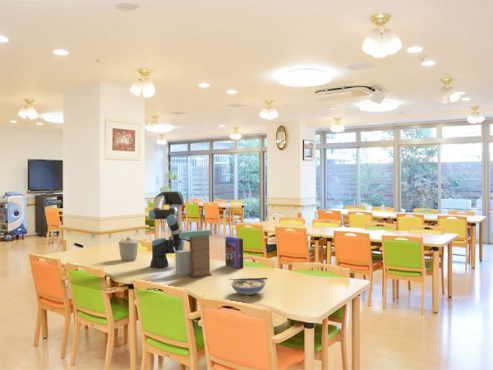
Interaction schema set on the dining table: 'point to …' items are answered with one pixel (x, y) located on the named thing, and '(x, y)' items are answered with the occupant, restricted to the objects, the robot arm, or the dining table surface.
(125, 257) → the canister
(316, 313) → the dining table surface
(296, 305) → the dining table surface
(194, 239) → the pedestal
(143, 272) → the dining table surface
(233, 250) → the cereal box
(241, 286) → the ramen bowl
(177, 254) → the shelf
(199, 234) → the mint green bar
